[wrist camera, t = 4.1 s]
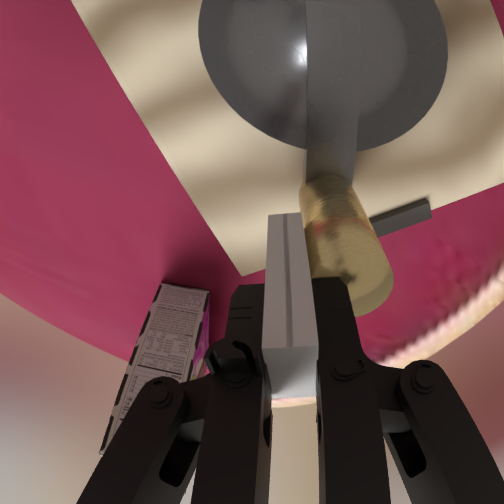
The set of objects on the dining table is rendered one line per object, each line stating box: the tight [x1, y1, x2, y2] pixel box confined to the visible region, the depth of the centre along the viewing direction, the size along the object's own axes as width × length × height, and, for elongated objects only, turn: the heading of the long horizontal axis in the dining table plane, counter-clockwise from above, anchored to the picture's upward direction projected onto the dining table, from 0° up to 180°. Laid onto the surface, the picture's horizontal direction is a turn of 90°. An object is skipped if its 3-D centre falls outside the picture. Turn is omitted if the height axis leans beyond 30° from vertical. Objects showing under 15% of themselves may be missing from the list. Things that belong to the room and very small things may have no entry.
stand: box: [71, 0, 504, 276], centre depth 13 cm, size 24×24×3 cm
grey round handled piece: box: [198, 0, 448, 317], centre depth 10 cm, size 18×12×9 cm, turn 2°
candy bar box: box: [99, 283, 210, 494], centre depth 23 cm, size 11×5×16 cm, turn 173°
